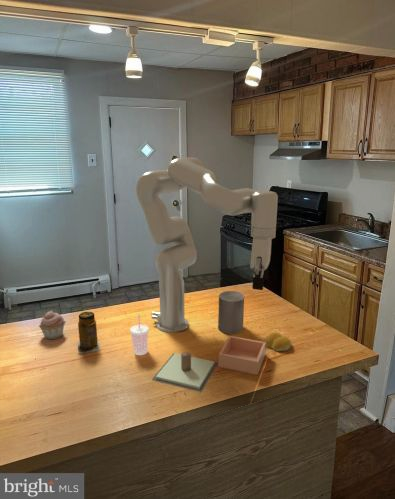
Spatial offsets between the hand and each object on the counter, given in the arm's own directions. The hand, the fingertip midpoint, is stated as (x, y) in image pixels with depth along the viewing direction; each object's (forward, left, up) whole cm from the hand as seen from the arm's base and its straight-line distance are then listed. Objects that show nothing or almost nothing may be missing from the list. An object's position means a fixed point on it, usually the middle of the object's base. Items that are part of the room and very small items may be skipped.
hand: (260, 283), depth 120 cm
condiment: (-56, -16, -26) cm, 64 cm away
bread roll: (+5, +9, -26) cm, 28 cm away
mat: (-18, -18, -26) cm, 36 cm away
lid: (-18, -18, -25) cm, 36 cm away
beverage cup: (-37, -13, -26) cm, 47 cm away
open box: (-3, -6, -26) cm, 26 cm away
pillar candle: (-13, +15, -26) cm, 33 cm away
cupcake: (-73, -14, -26) cm, 79 cm away
